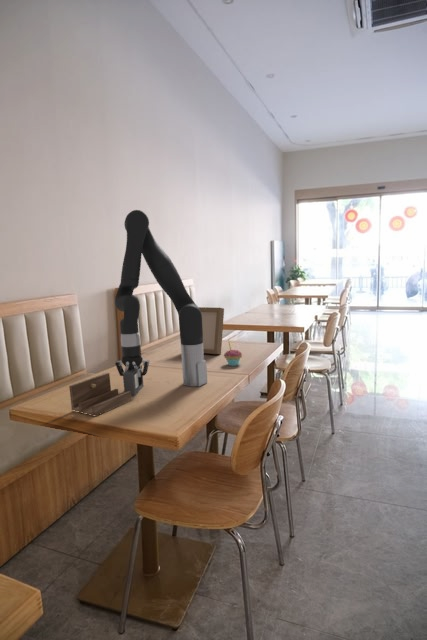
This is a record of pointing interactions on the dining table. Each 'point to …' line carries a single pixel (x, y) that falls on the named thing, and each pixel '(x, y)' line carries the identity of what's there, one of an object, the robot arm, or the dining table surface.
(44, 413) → the dining table surface
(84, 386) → the picture ledge
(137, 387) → the mini frame
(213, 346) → the photo frame
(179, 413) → the dining table surface
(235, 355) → the cupcake
